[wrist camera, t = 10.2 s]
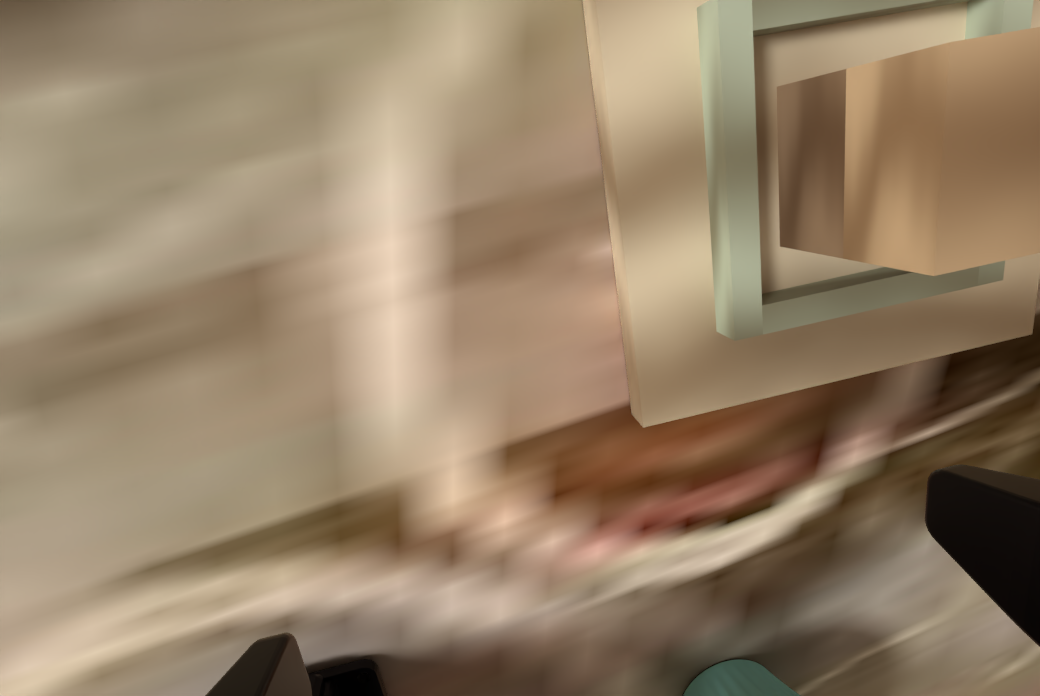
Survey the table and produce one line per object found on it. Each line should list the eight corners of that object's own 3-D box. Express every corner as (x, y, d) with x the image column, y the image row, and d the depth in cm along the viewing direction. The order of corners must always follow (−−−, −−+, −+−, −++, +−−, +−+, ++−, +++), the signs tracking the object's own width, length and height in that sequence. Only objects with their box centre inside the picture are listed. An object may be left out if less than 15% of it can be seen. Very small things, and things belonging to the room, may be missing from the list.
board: (1002, 326, 23) (1066, 342, 20) (631, 413, 21) (656, 442, 19) (1054, -148, 18) (1146, -195, 15) (572, -82, 16) (597, -125, 14)
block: (912, 218, 19) (1114, 236, 14) (779, 246, 19) (933, 276, 13) (921, 61, 18) (1154, 7, 12) (776, 86, 17) (949, 42, 12)
